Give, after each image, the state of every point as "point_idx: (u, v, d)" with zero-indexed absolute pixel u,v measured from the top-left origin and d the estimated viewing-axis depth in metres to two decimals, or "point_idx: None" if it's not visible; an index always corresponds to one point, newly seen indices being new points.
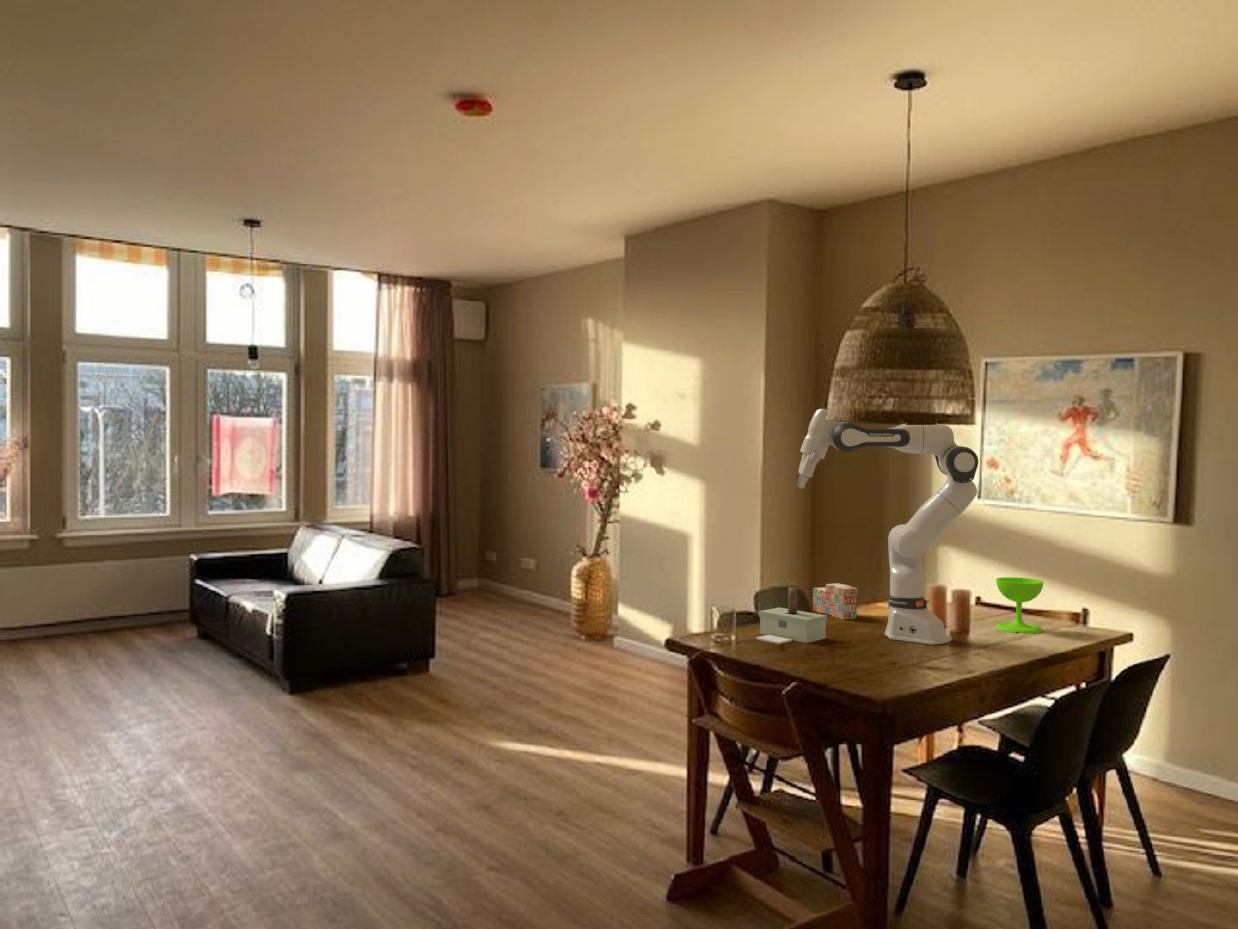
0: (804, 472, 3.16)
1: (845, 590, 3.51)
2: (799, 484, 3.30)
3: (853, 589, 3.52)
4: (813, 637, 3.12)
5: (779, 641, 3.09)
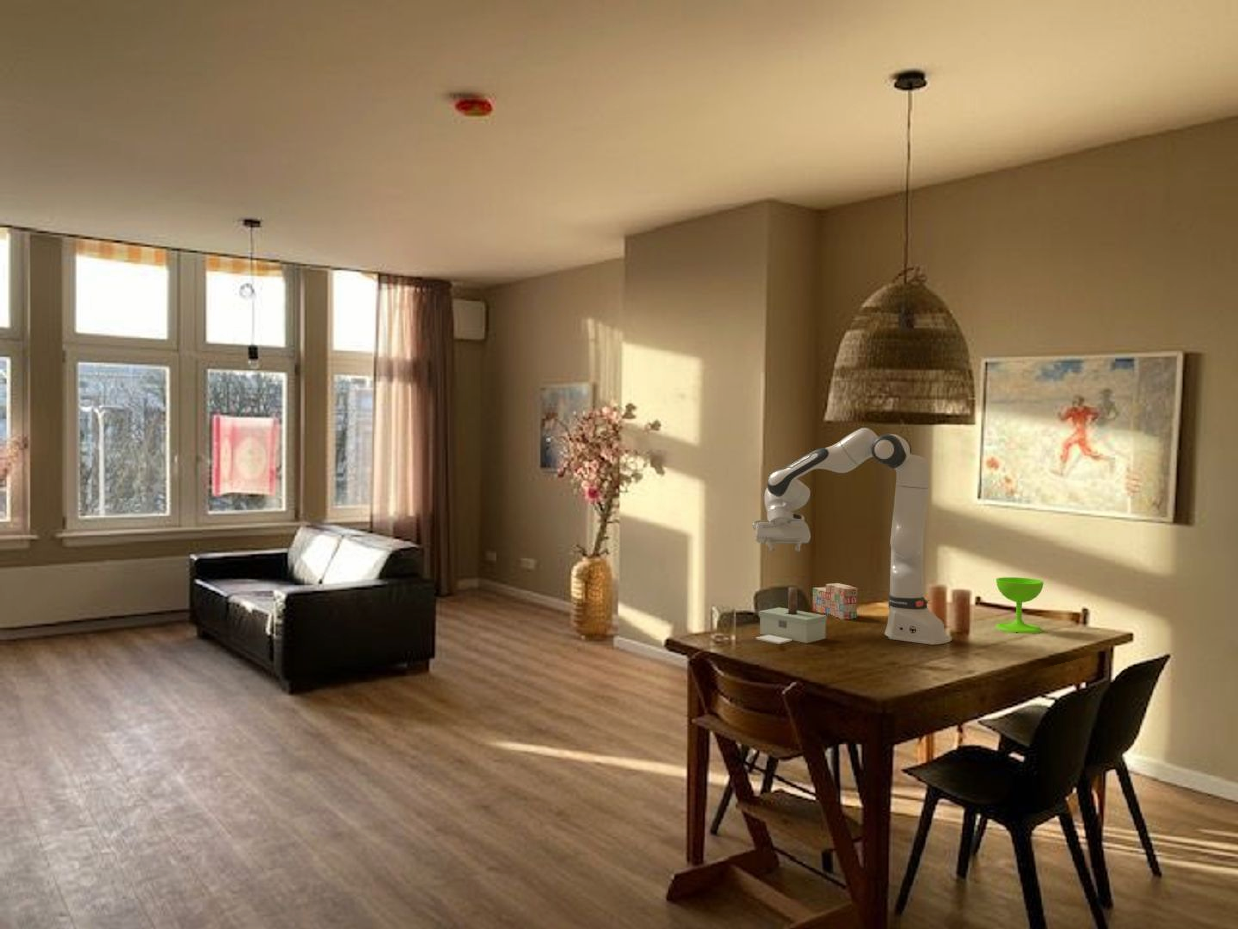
0: (755, 539, 3.36)
1: (845, 590, 3.51)
2: (795, 548, 3.33)
3: (853, 589, 3.52)
4: (813, 637, 3.12)
5: (779, 641, 3.09)
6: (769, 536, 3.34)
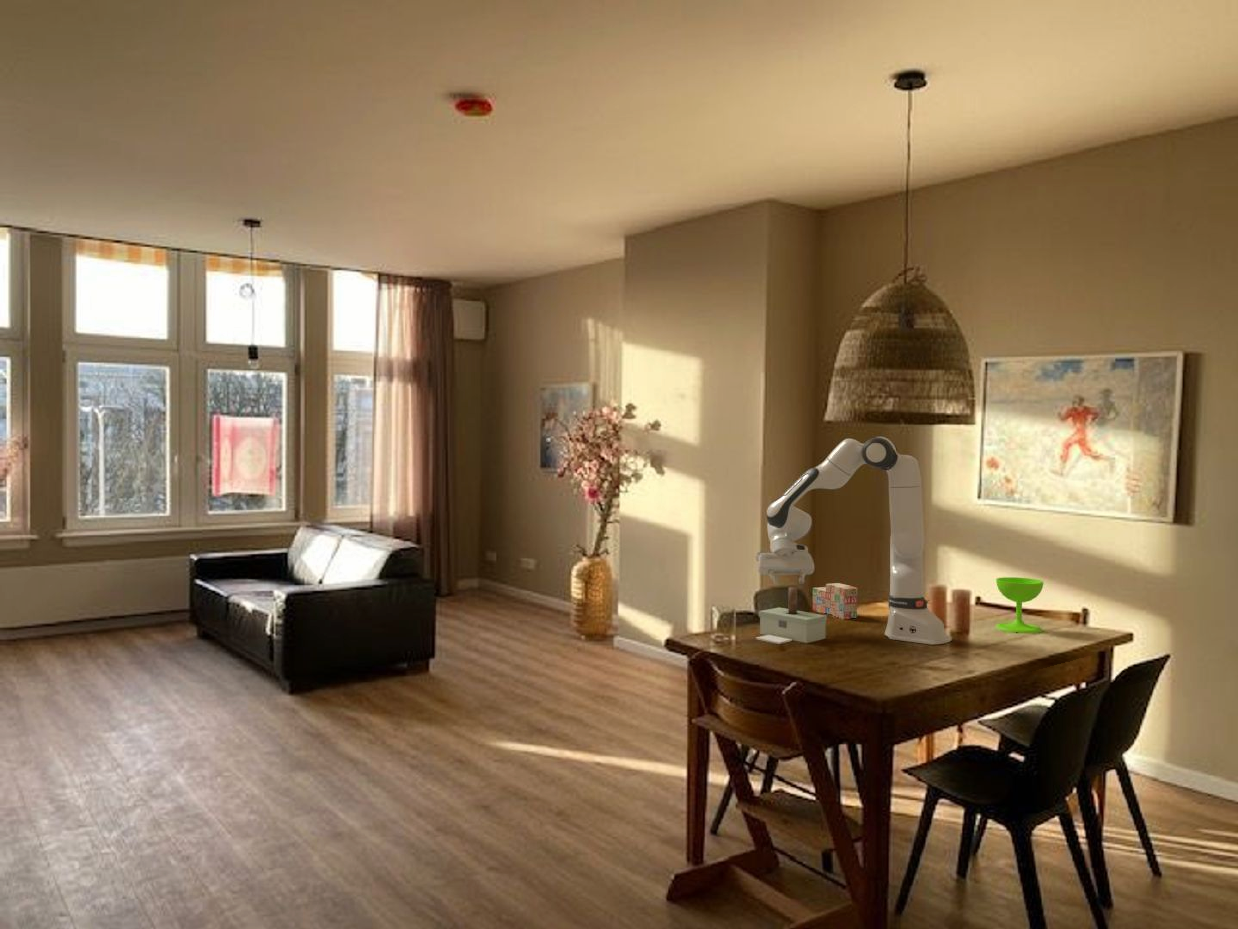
0: (758, 571, 3.31)
1: (845, 590, 3.51)
2: (799, 580, 3.27)
3: (853, 589, 3.53)
4: (813, 637, 3.12)
5: (779, 641, 3.09)
6: (772, 568, 3.29)
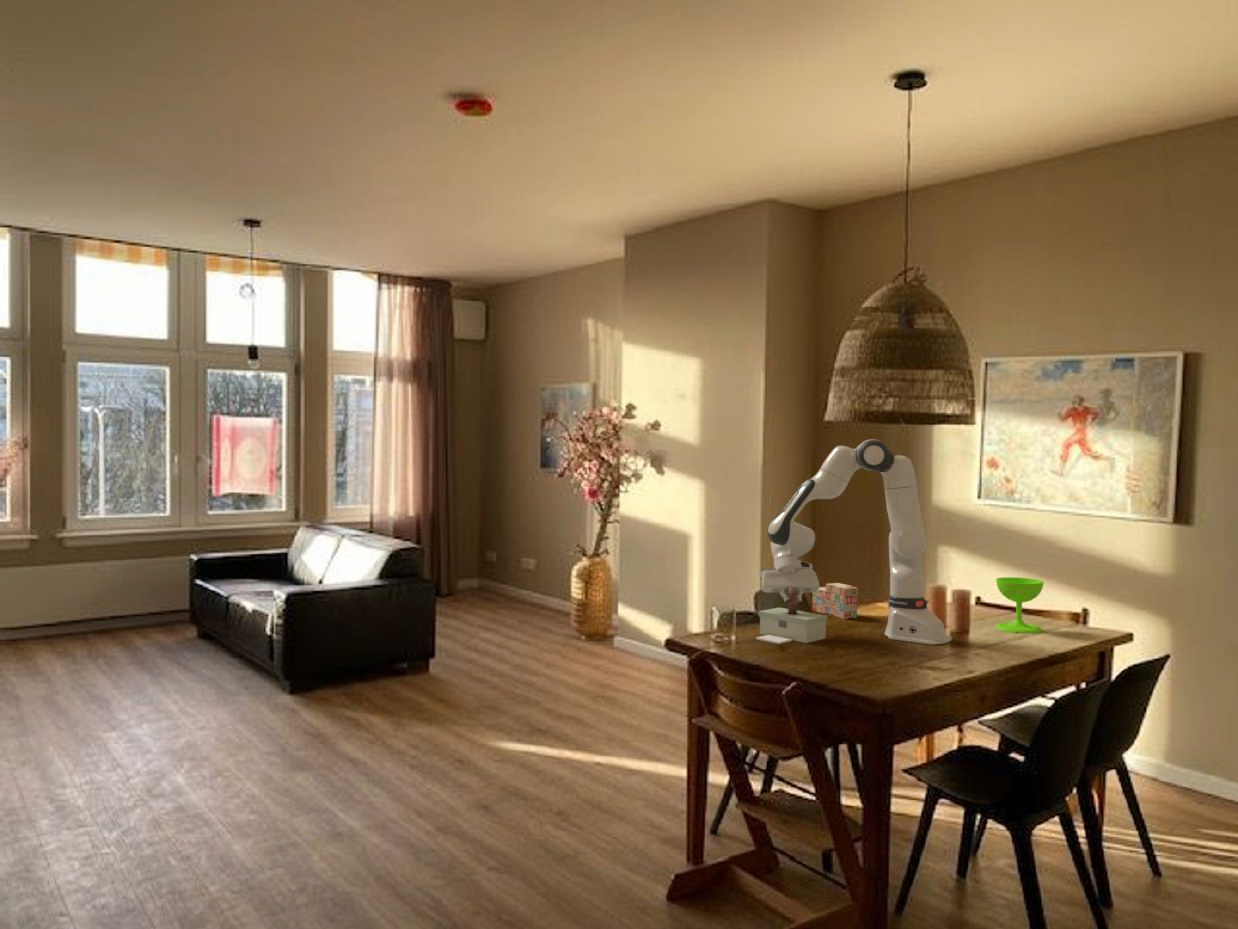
0: (762, 589, 3.24)
1: (846, 590, 3.52)
2: (797, 599, 3.20)
3: (853, 589, 3.53)
4: (813, 637, 3.12)
5: (779, 641, 3.09)
6: (776, 586, 3.22)
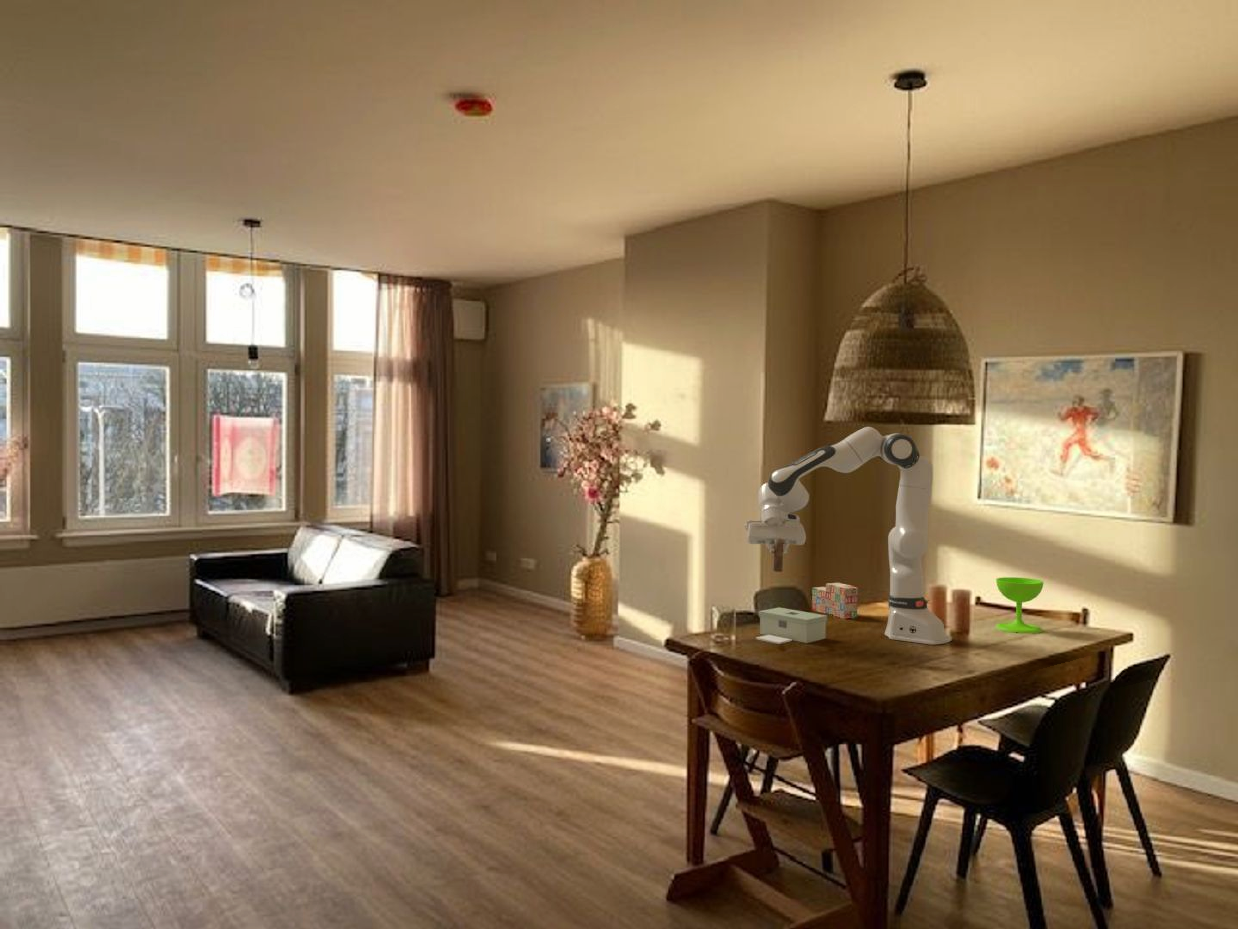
0: None
1: (846, 589, 3.52)
2: None
3: (854, 588, 3.54)
4: (813, 637, 3.12)
5: (779, 641, 3.09)
6: (762, 537, 3.16)
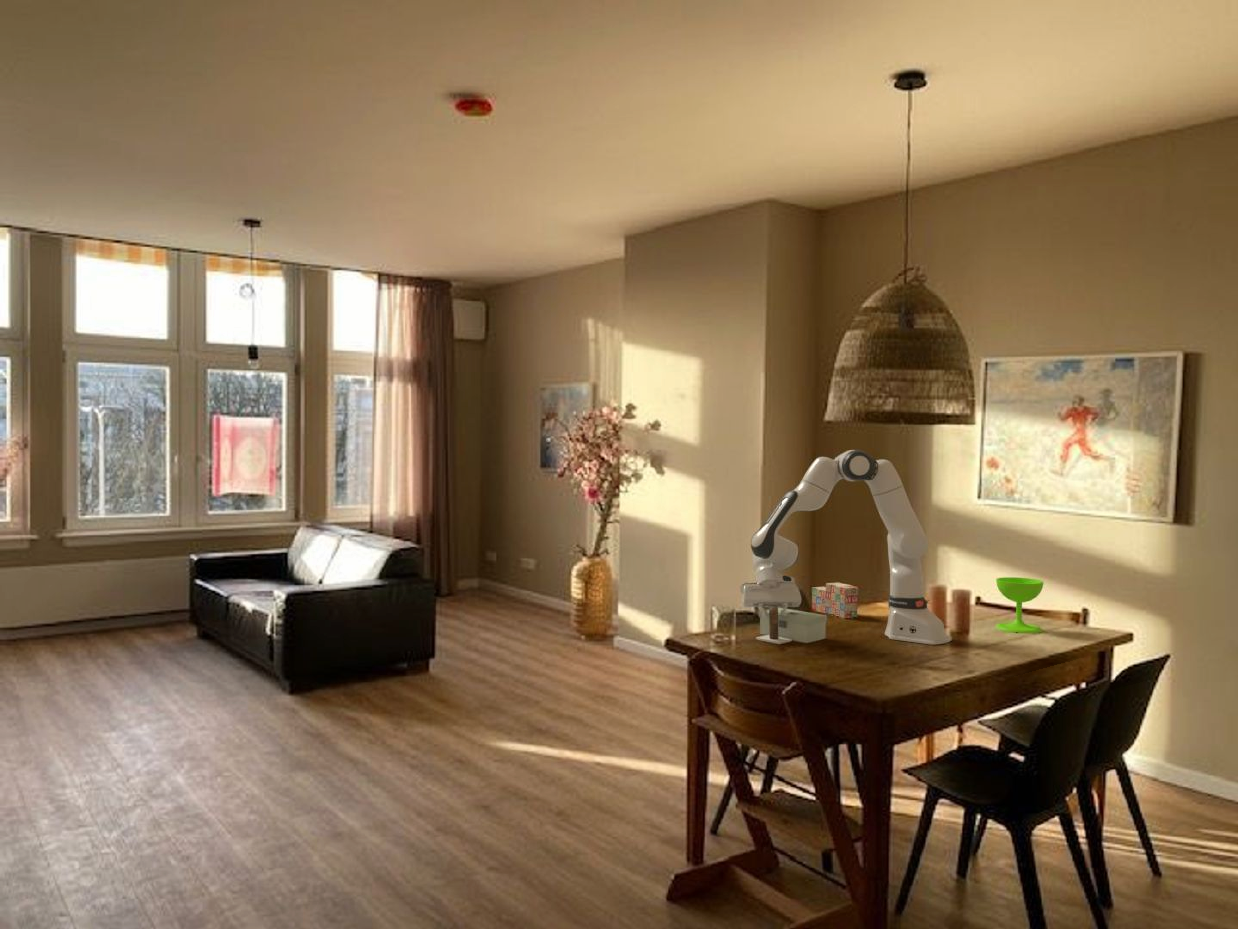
0: (743, 604, 3.17)
1: (846, 589, 3.53)
2: (781, 614, 3.13)
3: (854, 588, 3.54)
4: (813, 637, 3.12)
5: (779, 641, 3.09)
6: (757, 600, 3.15)
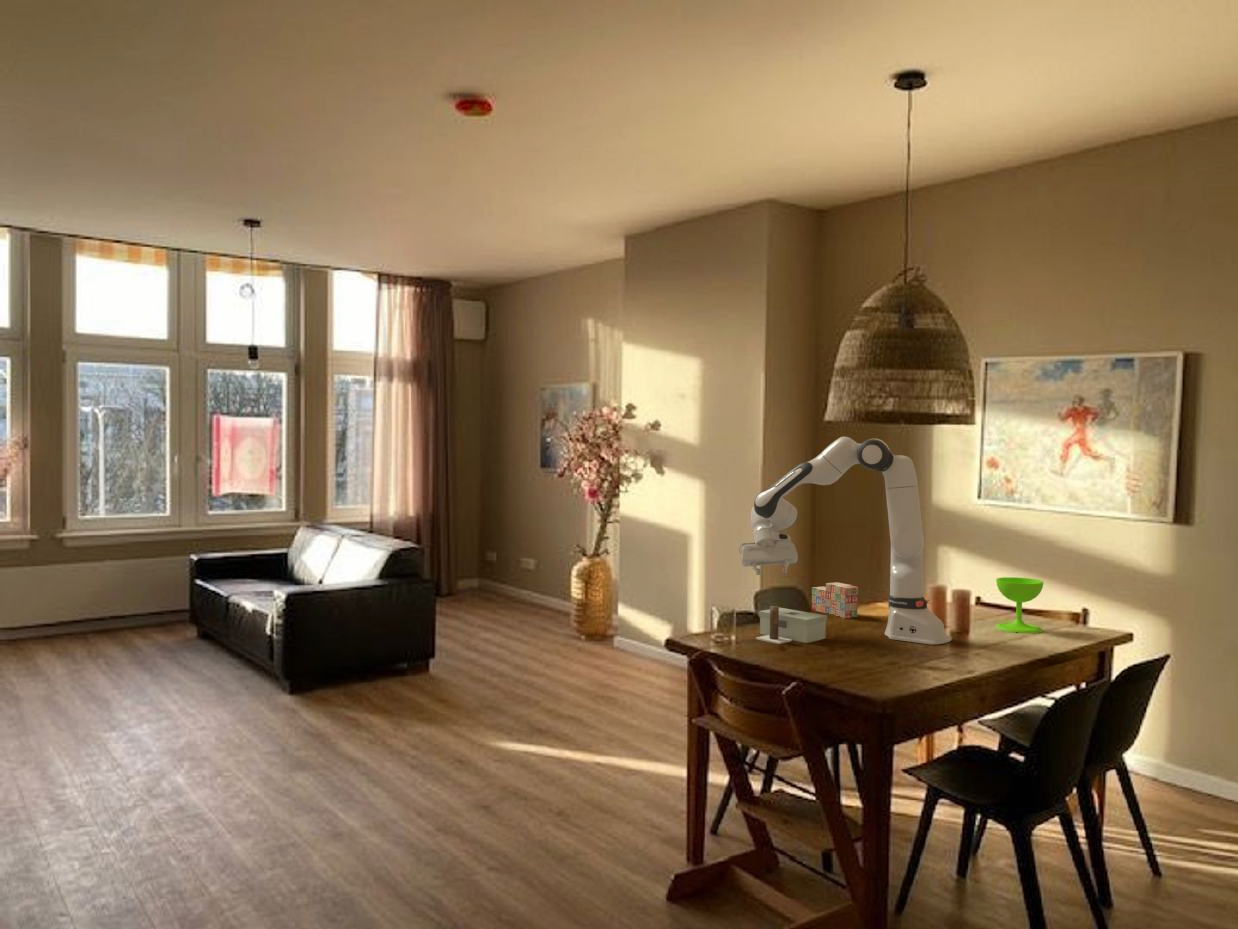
0: None
1: (846, 589, 3.53)
2: None
3: (854, 588, 3.55)
4: (813, 637, 3.12)
5: (779, 641, 3.09)
6: (755, 560, 3.28)
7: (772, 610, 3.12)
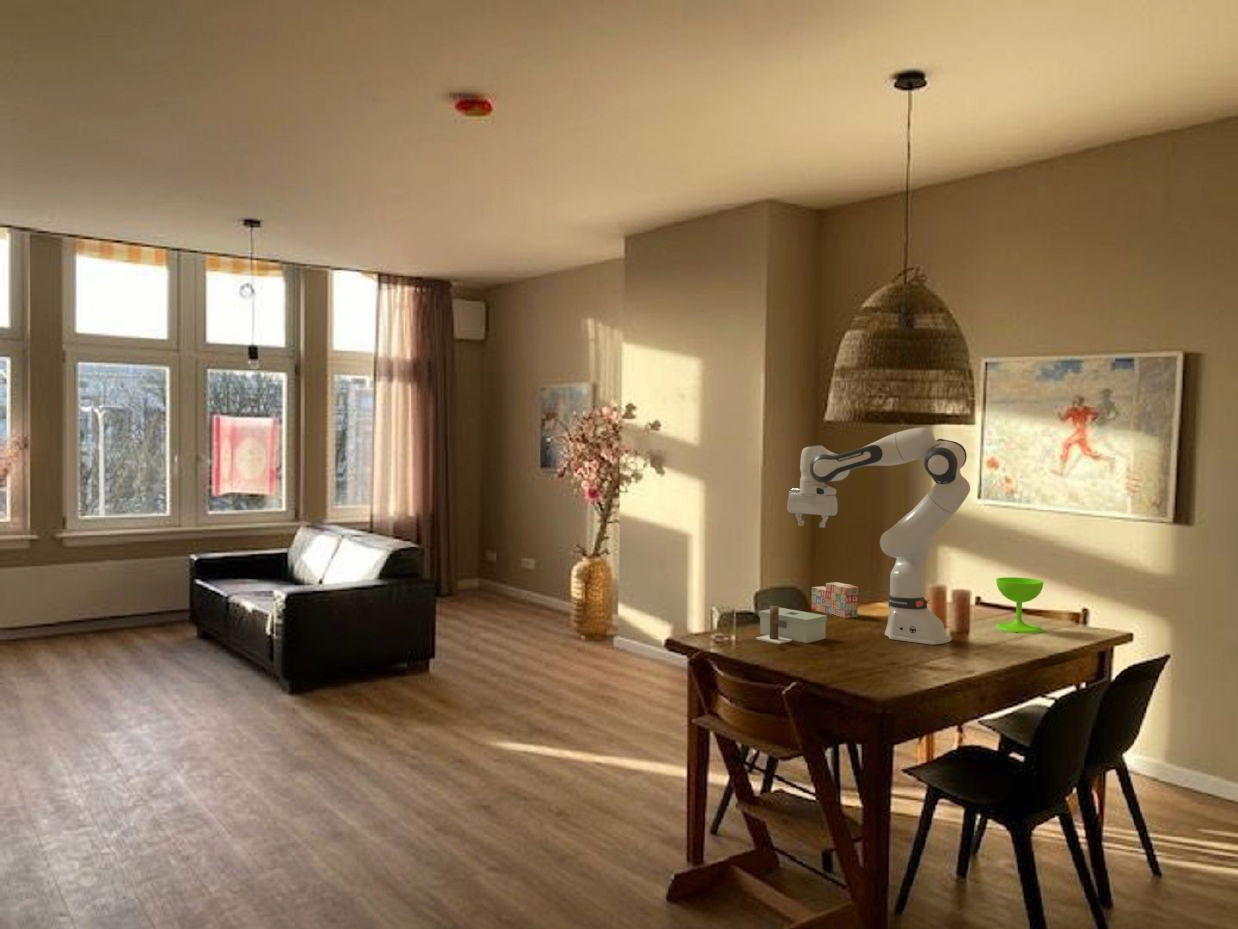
0: None
1: (847, 589, 3.54)
2: None
3: (854, 588, 3.55)
4: (813, 637, 3.12)
5: (779, 641, 3.09)
6: (796, 512, 3.40)
7: (772, 610, 3.12)
